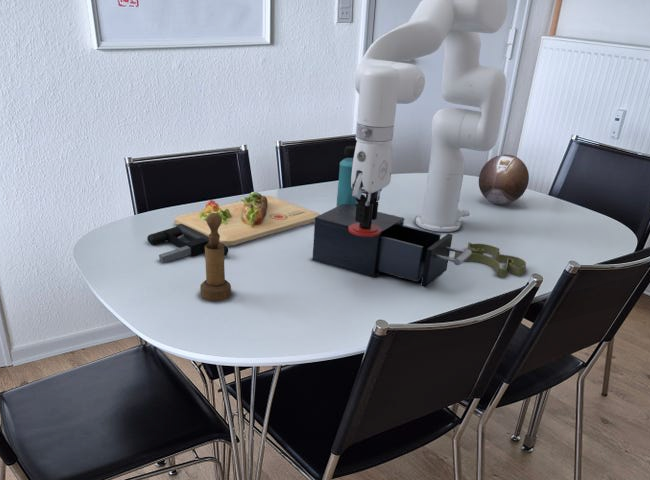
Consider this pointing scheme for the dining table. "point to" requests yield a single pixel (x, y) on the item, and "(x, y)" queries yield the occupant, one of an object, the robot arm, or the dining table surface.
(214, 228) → the mortar and pestle
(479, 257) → the cookie cutter
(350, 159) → the beverage bottle
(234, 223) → the cutting board
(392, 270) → the drawer
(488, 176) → the wooden sphere
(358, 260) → the dark grey metal box
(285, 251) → the dining table surface
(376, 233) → the lid
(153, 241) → the toy gun
